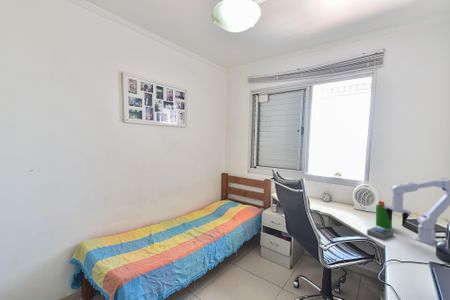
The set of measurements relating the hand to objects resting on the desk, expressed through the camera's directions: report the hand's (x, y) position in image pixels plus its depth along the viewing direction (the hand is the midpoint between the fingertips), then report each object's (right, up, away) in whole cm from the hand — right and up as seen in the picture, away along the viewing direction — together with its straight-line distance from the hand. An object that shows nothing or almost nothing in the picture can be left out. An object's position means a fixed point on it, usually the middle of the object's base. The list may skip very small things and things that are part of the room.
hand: (397, 221), depth 140 cm
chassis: (-10, -10, +3) cm, 15 cm away
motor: (+5, -10, +18) cm, 21 cm away
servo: (-10, -11, +2) cm, 15 cm away
